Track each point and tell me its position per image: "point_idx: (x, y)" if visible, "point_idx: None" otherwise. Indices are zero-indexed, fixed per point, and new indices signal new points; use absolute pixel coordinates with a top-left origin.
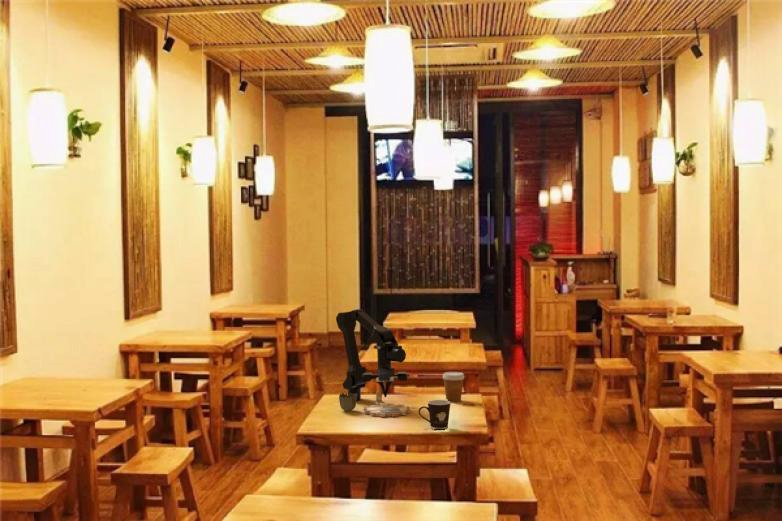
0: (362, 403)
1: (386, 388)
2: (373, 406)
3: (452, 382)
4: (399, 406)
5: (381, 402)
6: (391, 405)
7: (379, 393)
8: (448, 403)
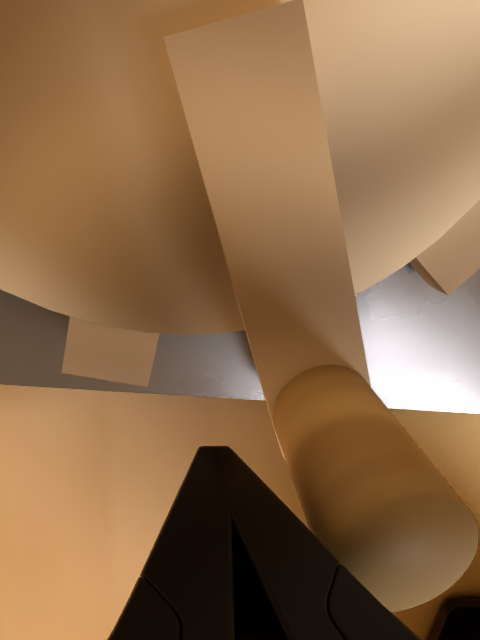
0: (424, 605)
1: (203, 612)
2: (445, 155)
3: None
4: None
5: (294, 290)
6: (93, 210)
7: (388, 464)
8: None
